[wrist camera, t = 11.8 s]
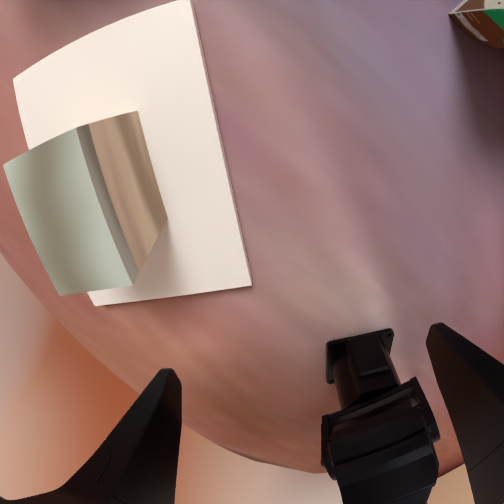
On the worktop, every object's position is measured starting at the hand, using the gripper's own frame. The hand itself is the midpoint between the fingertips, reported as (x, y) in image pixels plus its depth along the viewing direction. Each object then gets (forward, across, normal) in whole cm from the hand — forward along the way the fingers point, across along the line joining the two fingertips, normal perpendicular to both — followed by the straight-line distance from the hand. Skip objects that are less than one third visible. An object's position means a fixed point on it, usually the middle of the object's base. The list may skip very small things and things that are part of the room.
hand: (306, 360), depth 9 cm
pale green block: (+11, +9, -5) cm, 15 cm away
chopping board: (+12, +9, -5) cm, 16 cm away
